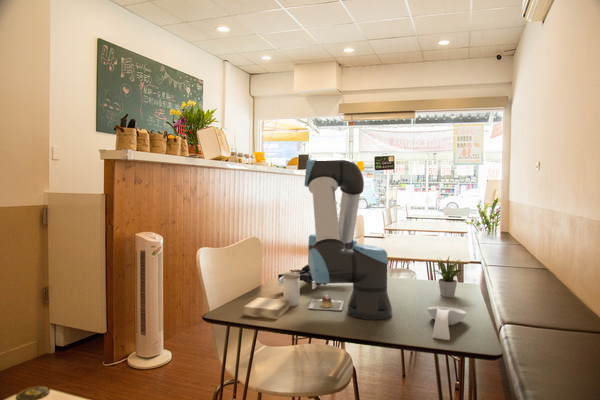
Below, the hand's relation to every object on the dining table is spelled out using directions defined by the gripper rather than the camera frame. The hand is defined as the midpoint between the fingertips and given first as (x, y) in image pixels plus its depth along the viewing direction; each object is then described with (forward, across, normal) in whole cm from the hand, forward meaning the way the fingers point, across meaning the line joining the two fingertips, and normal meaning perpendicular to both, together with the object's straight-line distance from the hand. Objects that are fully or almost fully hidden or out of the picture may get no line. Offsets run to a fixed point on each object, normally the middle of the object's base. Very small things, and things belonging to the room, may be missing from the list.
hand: (296, 284), depth 156 cm
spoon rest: (+15, -54, -6) cm, 56 cm away
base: (+18, +5, -6) cm, 20 cm away
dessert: (+5, -13, -7) cm, 16 cm away
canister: (+7, 0, -6) cm, 9 cm away
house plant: (-24, -55, -6) cm, 60 cm away
